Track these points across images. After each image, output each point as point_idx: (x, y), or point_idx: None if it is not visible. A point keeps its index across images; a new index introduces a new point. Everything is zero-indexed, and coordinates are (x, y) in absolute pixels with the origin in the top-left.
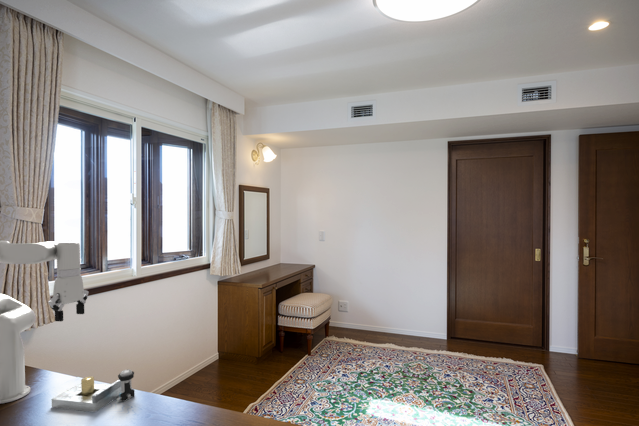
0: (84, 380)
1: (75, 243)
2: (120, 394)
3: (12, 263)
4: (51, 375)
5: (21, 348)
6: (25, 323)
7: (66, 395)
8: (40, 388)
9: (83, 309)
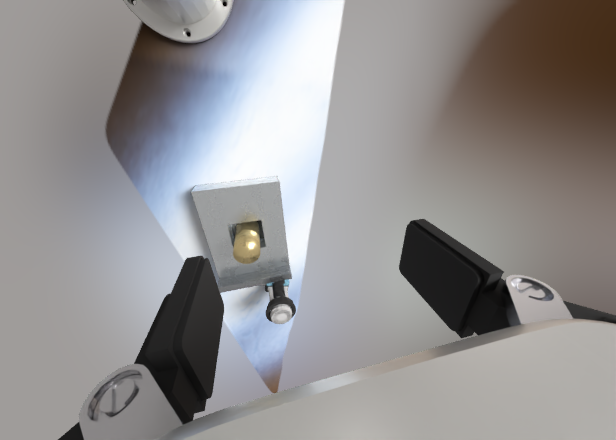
0: (237, 254)
1: None
2: (266, 285)
3: None
4: None
5: None
6: None
7: (218, 207)
8: (251, 40)
9: (425, 297)
